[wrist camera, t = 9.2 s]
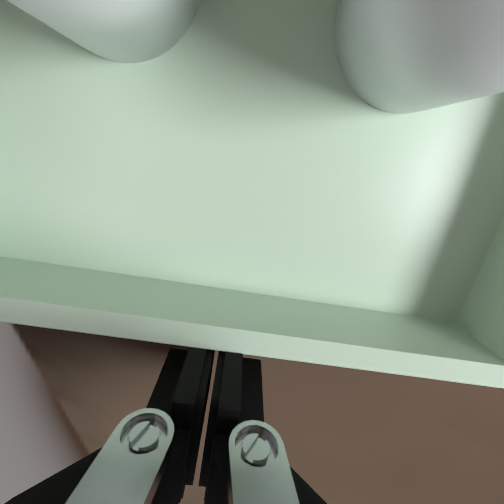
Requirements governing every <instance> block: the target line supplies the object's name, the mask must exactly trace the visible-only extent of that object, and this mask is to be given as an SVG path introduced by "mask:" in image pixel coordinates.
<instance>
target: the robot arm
mask: <svg viewBox="0 0 504 504" xmlns="http://www.w3.org/2000/svg"><path fill="white" fill-rule="evenodd" d="M214 352H215V350H211V349H203V348H196V347H189V349H188V350H180V349H172V348H171V349H170V351H169V353H168V356H167V358H166V360H165V363H164V365H163V368H162V370H161V373H160V375H159V378H158V380H157V383H156V385H155V388H154V390H153V393H152V395H151V398H150V400H149V403H148V405H147V407H146V409H140V410H137V411H135V412H132V413H131V414H129V415H128V416H126V417H125V418H123V420H122V421H121V422H120V423H119V424H118V425H117V427H116V428H115V430H114V431H113V433H112V434H111V436H110V437H109V439H108V440H107V442H106V443H105V445H104V446H103V447H102V448H100V449H98V450H97V451H95V452H93V453H91V454H90V455H88V456H86V457H84V458H83V459H81V460H79V461H77V462H76V463H74V464H72V465H70V466H68V467H67V468H65V469H63V470H61V471H60V472H58V473H56V474H54V475H53V476H51V477H49V478H47V479H46V480H44V481H42V482H40V483H38V484H37V485H35V486H33V487H31V488H30V489H28V490H26V491H24V492H23V493H21V494H19V495H17V496H15V497H14V498H12V499H11V500H9V501H8V502H6V503H5V504H178V503H180V501H181V498H183V494H184V489H185V485H193V480H194V474H195V468H196V462H197V457H198V451H199V445H200V439H201V433H202V428H203V422H204V416H205V410H206V405H207V399H208V393H209V387H210V381H211V374H212V366H213V359H214ZM199 486H204V487H206V490H205V498H204V501H205V502H204V504H327V503H326V502H325V501H324V500H323V499H322V498H321V497H320V496H319V495H318V494H317V493H316V492H315V491H314V490H313V489H312V488H311V487H310V486H309V485H308V484H307V483H306V482H305V481H304V480H303V479H302V478H301V477H300V476H299V475H298V474H297V473H296V472H295V471H294V470H293V469H292V468H291V467H290V466H289V462H288V459H287V455H286V451H285V447H284V444H283V441H282V439H281V437H280V435H279V434H278V433H277V431H276V430H275V429H274V428H273V427H271V426H270V425H269V424H267V423H264V413H263V394H262V374H261V361H260V360H258V359H250V358H243V354H242V353H234V352H227V351H219V353H218V360H217V366H216V372H215V379H214V385H213V392H212V398H211V405H210V411H209V418H208V425H207V432H206V439H205V445H204V452H203V459H202V466H201V473H200V480H199Z"/></svg>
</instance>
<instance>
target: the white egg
mask: <svg viewBox="0 0 504 504" xmlns="http://www.w3.org/2000/svg"><path fill="white" fill-rule="evenodd" d="M7 1H9V2H10V3H12V4H13V5H15V6H17V7H18V8H20V9H22V10H23V11H25V12H26V13H28V14H30V15H31V16H33V17H35V18H36V19H38V20H39V21H41V22H43V23H44V24H46V25H47V26H49V27H51V28H52V29H54V30H56V31H57V32H59V33H60V34H62V35H64V36H65V37H67V38H68V39H70V40H72V41H73V42H75V43H77V44H78V45H80V46H81V47H83V48H85V49H86V50H88V51H90V52H92V53H93V54H95V55H97V56H100V57H102V58H105V59H107V60H111V61H115V62H122V63H138V62H143V61H148V60H151V59H153V58H156V57H158V56H160V55H162V54H164V53H165V52H167V51H168V50H169V49H171V48H172V47H173V46H174V45H175V44H176V43H177V42H178V41H179V40H180V39H181V38H182V37H183V35H184V34H185V33H186V31H187V30H188V28H189V26H190V25H191V23H192V21H193V19H194V17H195V14H196V11H197V9H198V6H199V2H200V0H7Z"/></svg>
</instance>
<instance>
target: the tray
mask: <svg viewBox="0 0 504 504" xmlns="http://www.w3.org/2000/svg"><path fill="white" fill-rule="evenodd" d="M338 4H339V0H200V2H199V6H198V9H197V11H196V14H195V17H194V19H193V21H192V23H191V25H190V26H189V28H188V30H187V31H186V33H185V34H184V35H183V37H182V38H181V39H180V40H179V41H178V42H177V43H176V44H175V45H174V46H173V47H172V48H171V49H169V50H168V51H167V52H165V53H164V54H162V55H160V56H158V57H156V58H153V59H151V60H148V61H143V62H138V63H122V62H115V61H111V60H107V59H105V58H102V57H100V56H97V55H95V54H93V53H92V52H90V51H88V50H86V49H85V48H83V47H81V46H80V45H78V44H77V43H75V42H73V41H72V40H70V39H68V38H67V37H65V36H64V35H62V34H60V33H59V32H57V31H56V30H54V29H52V28H51V27H49V26H47V25H46V24H44V23H43V22H41V21H39V20H38V19H36V18H35V17H33V16H31V15H30V14H28V13H26V12H25V11H23V10H22V9H20V8H18V7H17V6H15V5H13V4H12V3H10V2H9V1H7V0H0V322H7V323H14V324H22V325H29V326H37V327H44V328H52V329H59V330H67V331H75V332H82V333H90V334H97V335H105V336H112V337H120V338H127V339H135V340H143V341H150V342H158V343H165V344H173V345H180V346H188V347H196V348H203V349H211V350H218V351H227V352H234V353H242V354H248V355H256V356H263V357H271V358H278V359H286V360H294V361H301V362H309V363H316V364H324V365H331V366H339V367H346V368H354V369H362V370H369V371H377V372H384V373H392V374H399V375H407V376H414V377H422V378H430V379H437V380H445V381H452V382H460V383H467V384H475V385H482V386H490V387H498V388H504V92H502V93H498V94H494V95H489V96H485V97H481V98H476V99H472V100H468V101H463V102H459V103H455V104H450V105H446V106H442V107H437V108H433V109H429V110H424V111H420V112H415V113H407V114H397V113H389V112H385V111H382V110H379V109H377V108H375V107H372V106H371V105H369V104H368V103H366V102H365V101H363V100H362V99H361V98H360V97H359V96H358V95H357V94H356V93H355V92H354V91H353V90H352V88H351V87H350V86H349V84H348V83H347V81H346V79H345V77H344V75H343V73H342V71H341V69H340V65H339V62H338V59H337V54H336V48H335V36H334V33H335V19H336V13H337V7H338Z"/></svg>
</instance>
